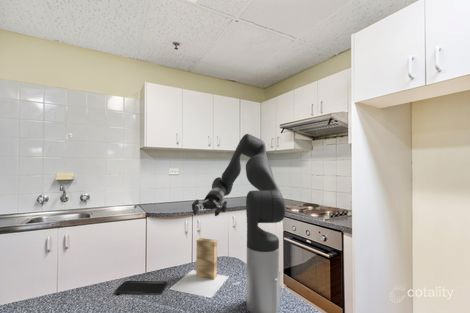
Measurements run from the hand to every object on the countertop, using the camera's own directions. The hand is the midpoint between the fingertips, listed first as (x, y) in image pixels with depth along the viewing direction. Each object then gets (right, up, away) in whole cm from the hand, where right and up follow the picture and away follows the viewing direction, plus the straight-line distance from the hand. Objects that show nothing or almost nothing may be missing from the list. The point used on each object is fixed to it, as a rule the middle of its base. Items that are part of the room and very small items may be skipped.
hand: (205, 213), depth 96 cm
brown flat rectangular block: (+2, -21, -9) cm, 23 cm away
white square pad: (0, -21, -13) cm, 25 cm away
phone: (-18, -21, -17) cm, 33 cm away
